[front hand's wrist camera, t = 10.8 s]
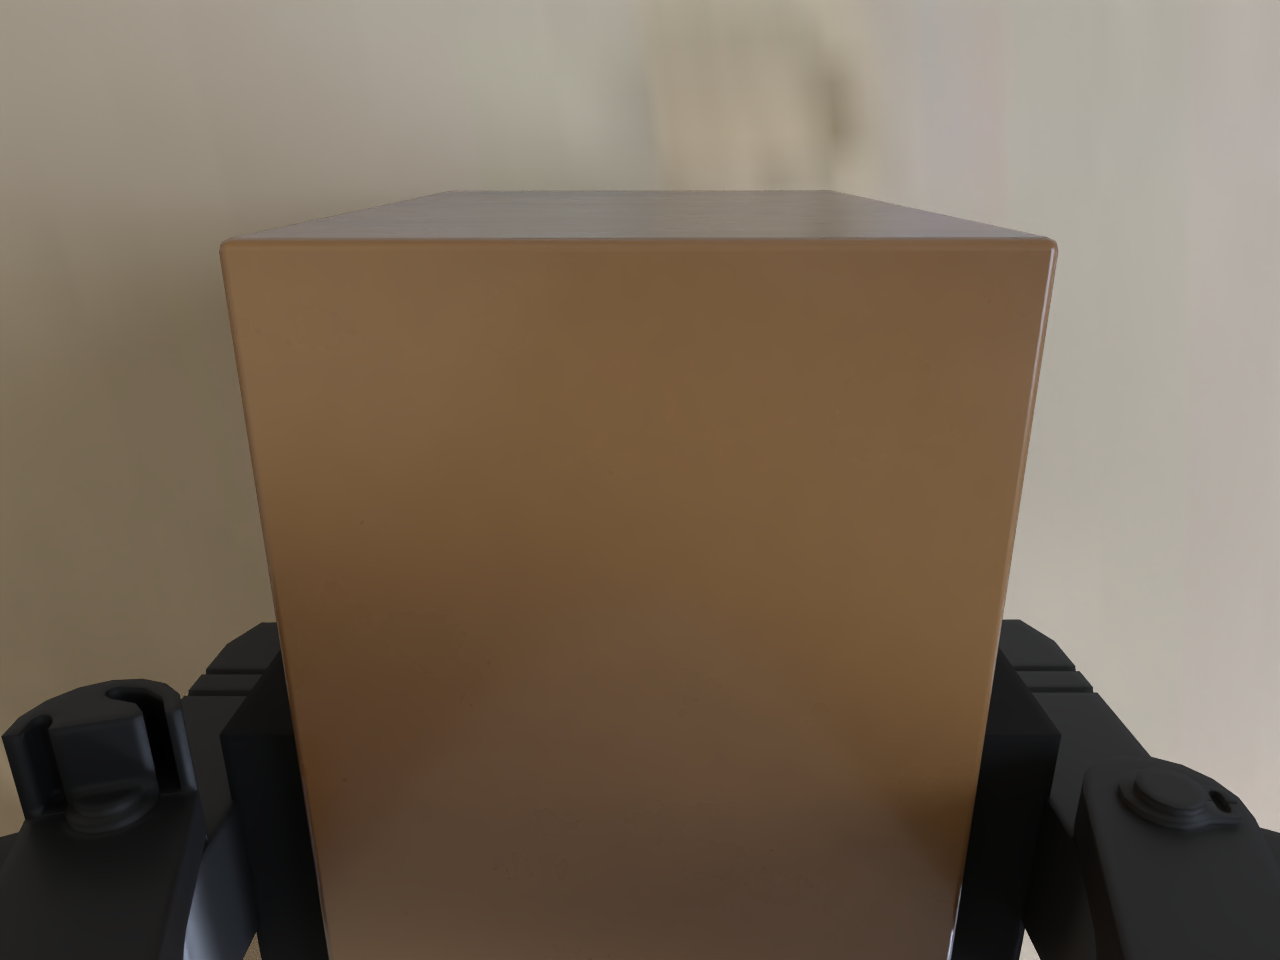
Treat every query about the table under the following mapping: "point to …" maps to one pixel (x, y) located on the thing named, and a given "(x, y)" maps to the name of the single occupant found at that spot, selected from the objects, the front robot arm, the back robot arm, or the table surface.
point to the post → (639, 562)
